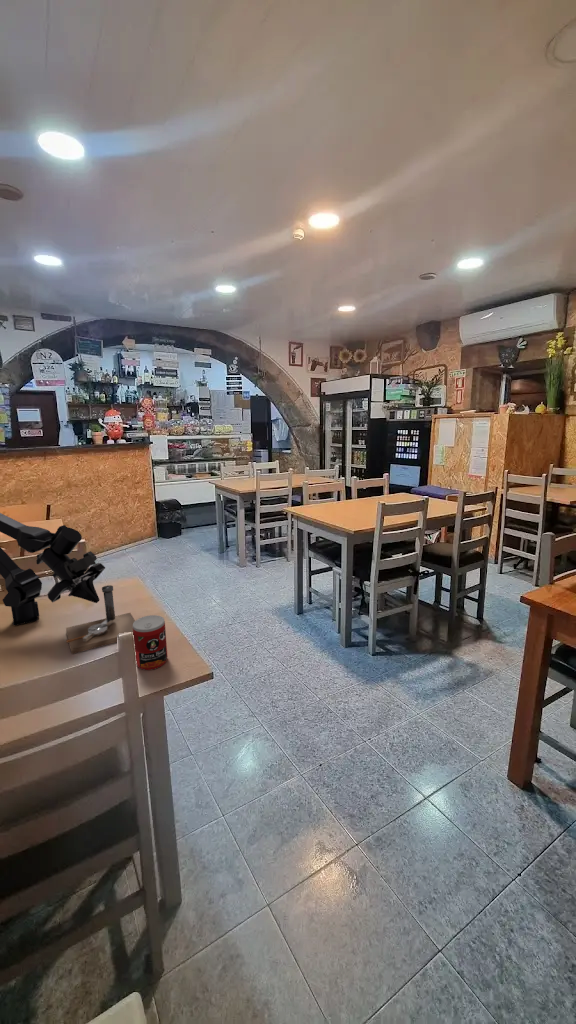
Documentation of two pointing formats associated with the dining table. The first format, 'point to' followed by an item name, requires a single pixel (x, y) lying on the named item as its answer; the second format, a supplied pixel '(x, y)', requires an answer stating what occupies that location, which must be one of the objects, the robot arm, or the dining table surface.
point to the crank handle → (110, 615)
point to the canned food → (150, 642)
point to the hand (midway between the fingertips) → (98, 601)
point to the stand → (79, 631)
